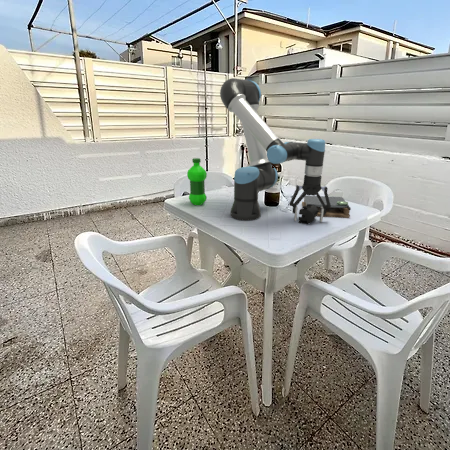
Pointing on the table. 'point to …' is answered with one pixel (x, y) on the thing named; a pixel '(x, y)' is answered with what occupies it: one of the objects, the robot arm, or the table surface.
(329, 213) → the walnut stand
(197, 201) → the plastic bottle
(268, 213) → the table surface
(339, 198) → the tilting plate
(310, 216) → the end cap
